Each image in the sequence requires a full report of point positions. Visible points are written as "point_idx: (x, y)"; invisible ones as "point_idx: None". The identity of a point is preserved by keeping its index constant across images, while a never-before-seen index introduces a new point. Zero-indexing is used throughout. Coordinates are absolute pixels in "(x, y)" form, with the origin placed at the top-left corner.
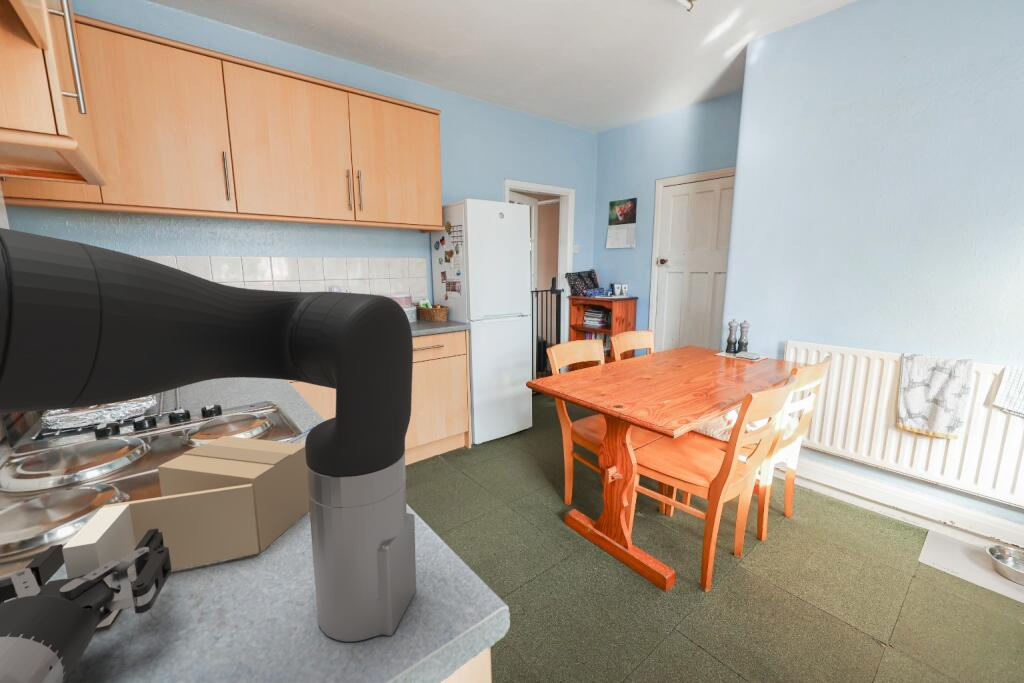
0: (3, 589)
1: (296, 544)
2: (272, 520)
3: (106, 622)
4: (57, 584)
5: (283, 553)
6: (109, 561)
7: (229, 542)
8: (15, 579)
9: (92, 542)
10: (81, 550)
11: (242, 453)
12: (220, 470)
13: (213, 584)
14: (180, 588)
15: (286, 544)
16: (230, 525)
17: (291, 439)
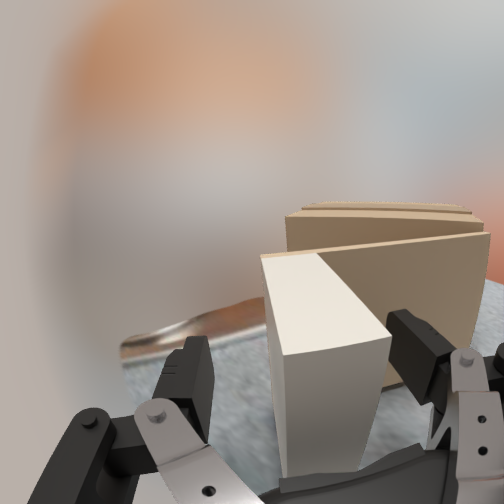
0: (130, 452)
1: (488, 342)
2: None
3: None
4: (337, 501)
5: (488, 355)
6: (460, 398)
7: None
8: (153, 441)
9: (379, 334)
10: (343, 365)
11: (395, 205)
12: (405, 216)
13: None
14: (400, 423)
15: (476, 344)
16: (455, 312)
17: None
